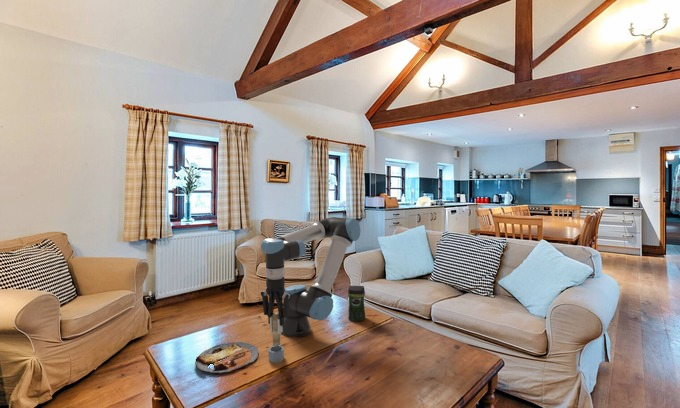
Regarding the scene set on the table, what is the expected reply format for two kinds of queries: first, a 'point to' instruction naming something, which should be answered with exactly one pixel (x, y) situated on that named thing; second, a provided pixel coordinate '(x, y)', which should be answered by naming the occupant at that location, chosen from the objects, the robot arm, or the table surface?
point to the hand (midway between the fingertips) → (276, 332)
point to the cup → (276, 353)
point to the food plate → (223, 356)
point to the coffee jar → (356, 303)
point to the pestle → (275, 330)
